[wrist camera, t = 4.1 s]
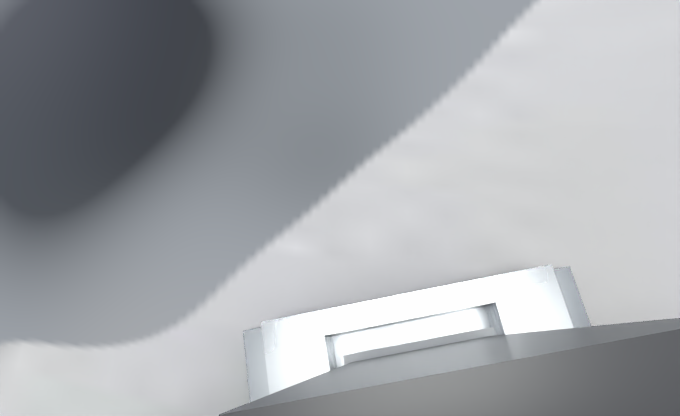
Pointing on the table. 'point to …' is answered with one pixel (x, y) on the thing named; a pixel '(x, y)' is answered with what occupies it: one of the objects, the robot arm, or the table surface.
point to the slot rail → (408, 323)
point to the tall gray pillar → (499, 376)
